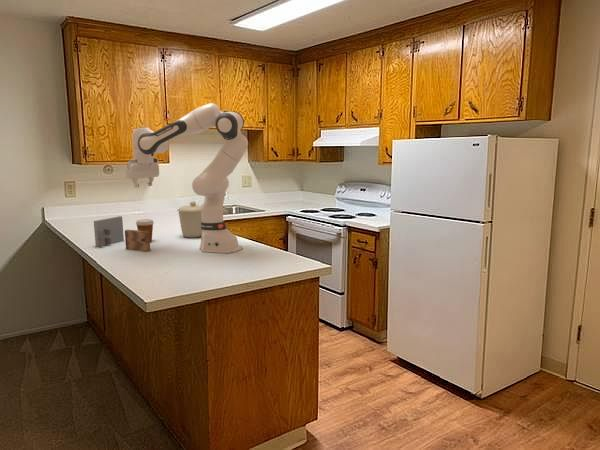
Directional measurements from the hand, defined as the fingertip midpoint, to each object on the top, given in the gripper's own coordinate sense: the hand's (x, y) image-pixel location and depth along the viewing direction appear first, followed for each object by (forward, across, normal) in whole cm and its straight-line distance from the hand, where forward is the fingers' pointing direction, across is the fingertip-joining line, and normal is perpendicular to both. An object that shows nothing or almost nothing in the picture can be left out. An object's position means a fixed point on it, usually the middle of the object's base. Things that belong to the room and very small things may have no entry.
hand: (143, 186), depth 232 cm
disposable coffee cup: (+33, +12, +11) cm, 37 cm away
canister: (+32, +35, -4) cm, 48 cm away
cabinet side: (+33, 0, +24) cm, 40 cm away
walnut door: (+32, -6, 0) cm, 33 cm away
